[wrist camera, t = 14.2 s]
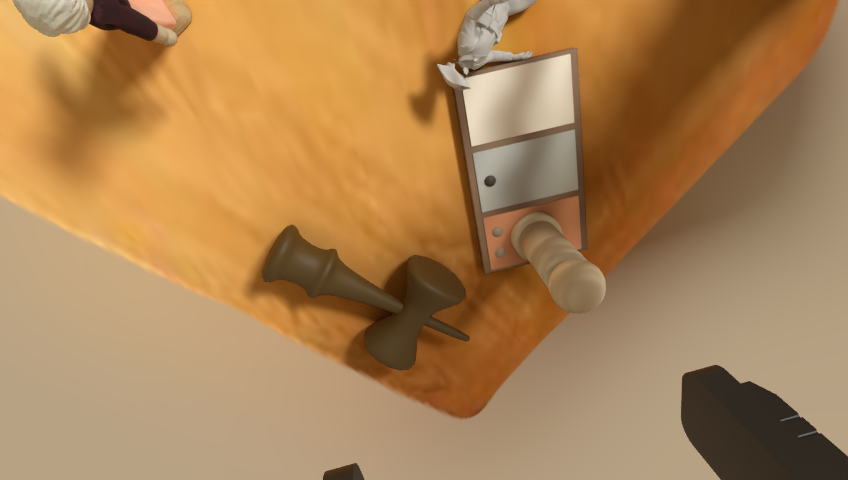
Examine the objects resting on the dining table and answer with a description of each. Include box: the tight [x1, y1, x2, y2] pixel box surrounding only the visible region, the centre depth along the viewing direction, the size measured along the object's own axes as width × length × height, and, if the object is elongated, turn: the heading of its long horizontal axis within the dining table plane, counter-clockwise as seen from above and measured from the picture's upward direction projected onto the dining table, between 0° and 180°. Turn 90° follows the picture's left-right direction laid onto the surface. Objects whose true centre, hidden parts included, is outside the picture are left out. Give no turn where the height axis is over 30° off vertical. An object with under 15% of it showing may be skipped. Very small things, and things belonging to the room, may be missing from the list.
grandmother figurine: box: [13, 0, 192, 47], centre depth 26 cm, size 8×4×13 cm, turn 73°
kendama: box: [262, 225, 470, 370], centre depth 41 cm, size 6×10×20 cm
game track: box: [453, 48, 587, 274], centre depth 40 cm, size 10×18×1 cm, turn 12°
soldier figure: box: [437, 0, 537, 90], centre depth 33 cm, size 8×5×12 cm
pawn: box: [511, 211, 606, 313], centre depth 37 cm, size 4×4×11 cm
